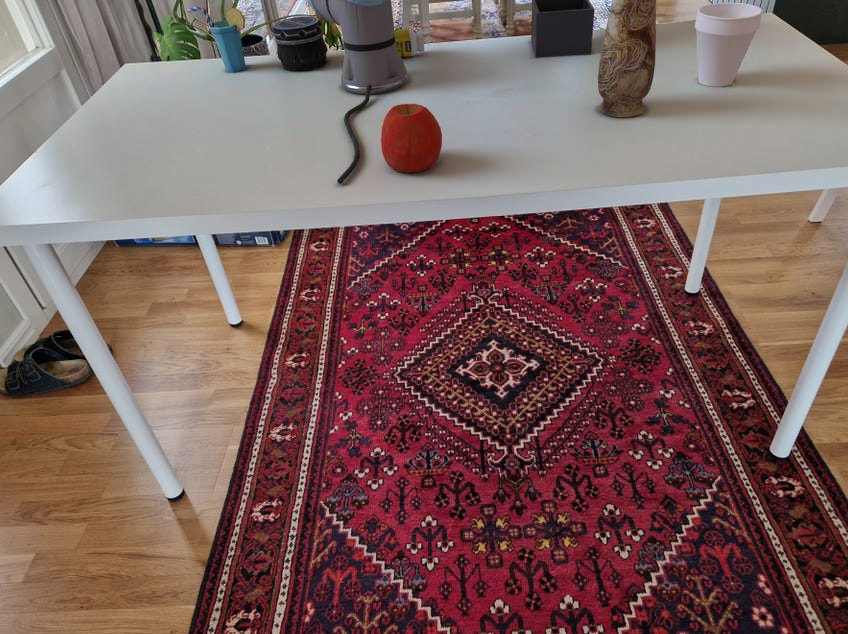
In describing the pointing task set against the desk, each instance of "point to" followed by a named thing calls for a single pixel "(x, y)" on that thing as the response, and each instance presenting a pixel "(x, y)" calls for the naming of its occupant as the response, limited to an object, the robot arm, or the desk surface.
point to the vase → (627, 57)
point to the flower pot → (724, 40)
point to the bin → (562, 27)
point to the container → (300, 43)
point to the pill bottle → (409, 42)
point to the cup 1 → (228, 38)
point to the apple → (410, 138)
